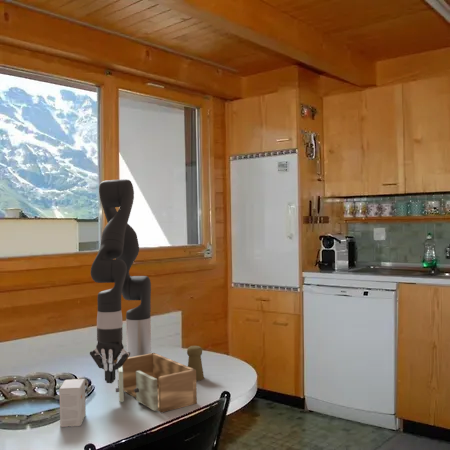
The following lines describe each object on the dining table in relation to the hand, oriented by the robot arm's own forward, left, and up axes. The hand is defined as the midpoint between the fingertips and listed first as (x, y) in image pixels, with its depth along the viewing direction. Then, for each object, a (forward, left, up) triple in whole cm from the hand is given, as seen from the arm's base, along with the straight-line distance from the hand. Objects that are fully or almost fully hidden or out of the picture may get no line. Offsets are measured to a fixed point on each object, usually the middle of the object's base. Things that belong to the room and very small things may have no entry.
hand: (110, 382), depth 160 cm
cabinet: (+4, +12, -6) cm, 14 cm away
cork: (-4, +33, -6) cm, 33 cm away
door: (-2, +4, -5) cm, 7 cm away
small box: (+7, -14, -6) cm, 17 cm away
